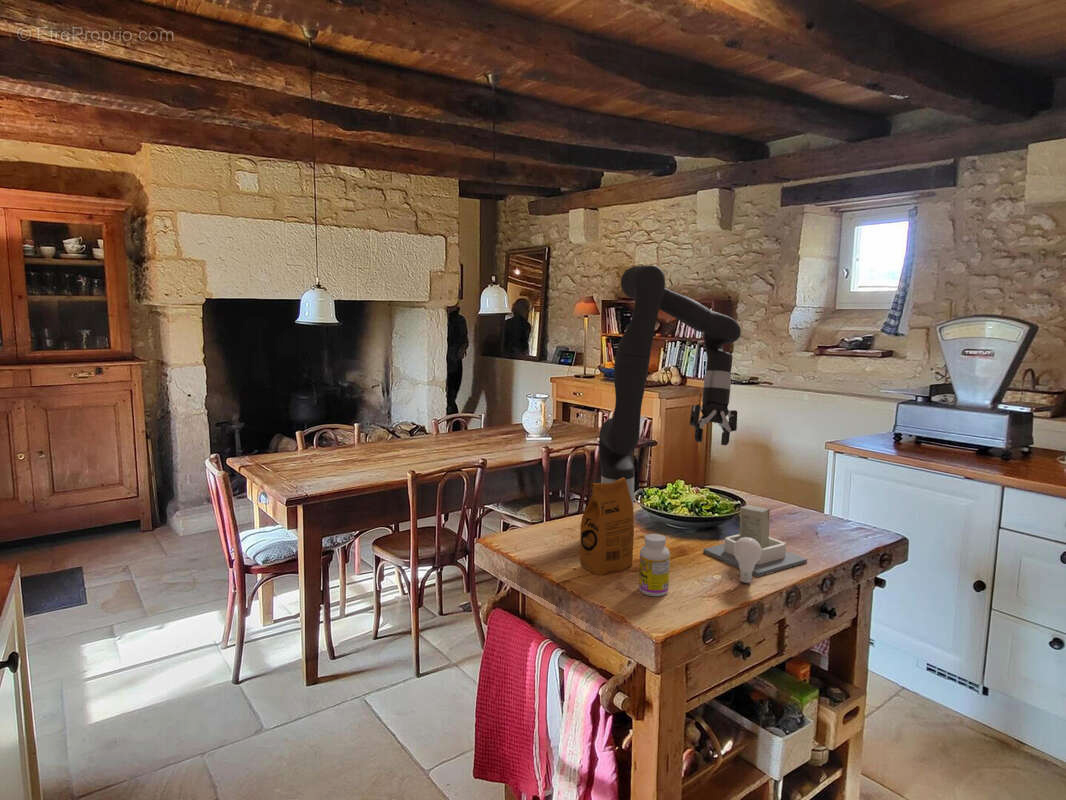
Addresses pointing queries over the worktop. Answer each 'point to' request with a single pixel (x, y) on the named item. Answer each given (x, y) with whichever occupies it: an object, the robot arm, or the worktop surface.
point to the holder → (770, 558)
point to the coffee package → (608, 529)
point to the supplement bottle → (654, 566)
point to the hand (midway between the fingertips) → (711, 443)
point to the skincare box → (755, 524)
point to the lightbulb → (747, 556)
